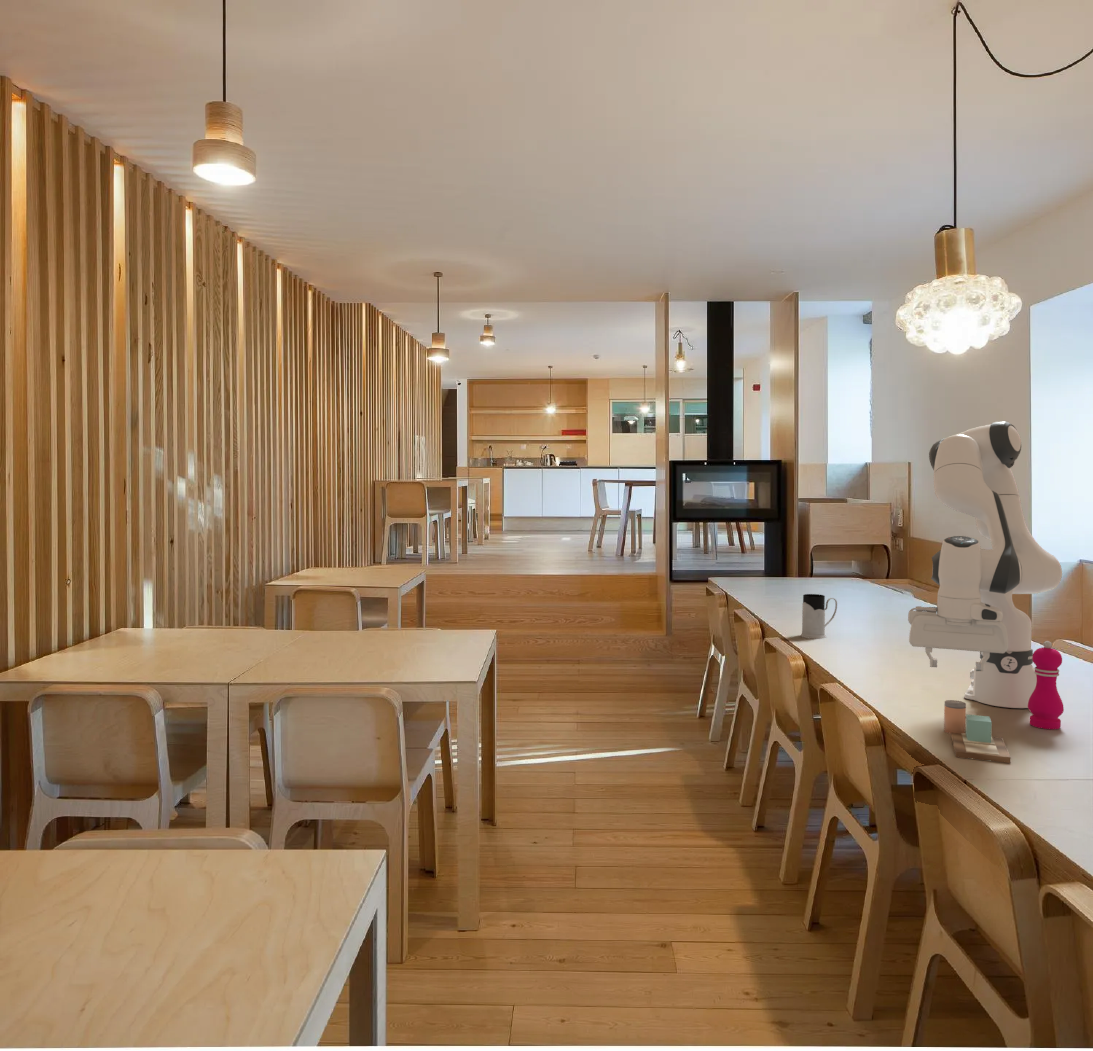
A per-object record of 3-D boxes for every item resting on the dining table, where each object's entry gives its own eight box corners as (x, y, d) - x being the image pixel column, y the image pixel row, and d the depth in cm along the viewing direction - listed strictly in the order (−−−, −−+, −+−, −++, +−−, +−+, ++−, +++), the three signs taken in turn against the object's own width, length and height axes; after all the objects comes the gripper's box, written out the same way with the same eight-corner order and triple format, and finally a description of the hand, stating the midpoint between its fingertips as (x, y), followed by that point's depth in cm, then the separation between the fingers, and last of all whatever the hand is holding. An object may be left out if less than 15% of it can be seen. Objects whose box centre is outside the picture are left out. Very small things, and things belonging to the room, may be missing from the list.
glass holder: (795, 634, 309) (796, 594, 308) (828, 632, 313) (829, 592, 312) (810, 639, 300) (810, 597, 300) (843, 636, 305) (844, 595, 304)
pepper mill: (1030, 719, 202) (1032, 636, 200) (1065, 725, 197) (1068, 640, 196) (1024, 726, 196) (1027, 641, 195) (1060, 732, 192) (1063, 645, 190)
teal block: (965, 734, 186) (966, 714, 185) (988, 736, 184) (989, 716, 184) (967, 740, 181) (968, 719, 181) (991, 742, 180) (991, 722, 179)
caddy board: (951, 737, 188) (951, 731, 188) (1001, 742, 184) (1001, 736, 184) (955, 757, 175) (956, 750, 175) (1010, 763, 171) (1010, 756, 171)
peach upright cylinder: (943, 728, 195) (943, 699, 194) (964, 730, 193) (965, 701, 193) (944, 733, 191) (945, 704, 190) (965, 735, 189) (966, 706, 189)
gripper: (908, 608, 191) (906, 667, 192) (1010, 614, 184) (1008, 676, 185) (908, 603, 197) (906, 661, 198) (1007, 609, 189) (1004, 669, 190)
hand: (956, 668), depth 191 cm, fingers open, 8 cm apart
